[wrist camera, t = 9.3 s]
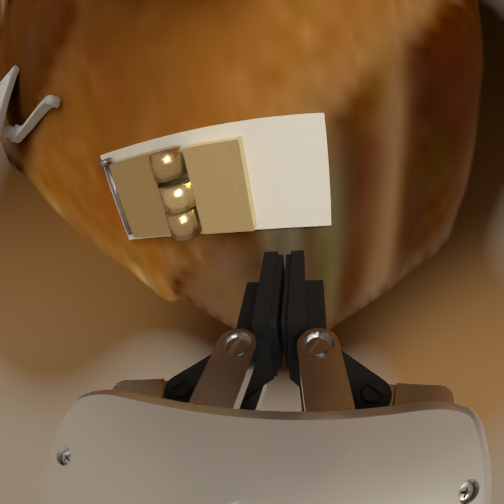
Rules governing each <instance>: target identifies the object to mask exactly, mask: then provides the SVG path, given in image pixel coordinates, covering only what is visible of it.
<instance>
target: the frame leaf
mask: <svg viewBox="0 0 504 504" xmlns="http://www.w3.org/2000/svg"><path fill="white" fill-rule="evenodd" d="M109 167H110V170H111V174H112V177H113V180H114V183H115V186H116V189H117V192H118V195H119V198H120V201H121V204H122V207H123V209H124V212H125V215H126V218H127V220H128V223H129V226H130V228H131V231H132V234H133V236H134V238H140V237H151V236H162V235H172V238H173V239H174V240H176V241H185V240H189V239H192V238H194V237H196V236H197V235H199V234H200V233H201V231H202V226H201V222H200V219H199V215H198V211H197V207H196V205H195V206H194V207H192V208H191V209H189V210H186V211H183V212H180V213H173V214H171V213H167V212H166V210H165V207H164V204H163V200H162V197H161V194H160V190H159V188H160V187H161V186H162V185H163V184H165V183H166V181H170V180H173V179H176V178H179V177H181V176H183V175H185V174H186V173H187V168H186V164H185V160H184V156H183V152H182V148H181V145H174V146H169V147H165V148H162V149H159V150H157V149H156V150H152V151H148V152H145V153H141V154H137V155H133V156H130V157H126V158H123V159H119V160H117V161H115V162H113V163H111V164H110V165H109Z"/></svg>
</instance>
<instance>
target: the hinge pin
mask: <svg viewBox="0 0 504 504" xmlns="http://www.w3.org/2000/svg"><path fill="white" fill-rule="evenodd" d="M111 163H112V160H111V157H109V158H106V159H103V160H101V161H99V166H100V167H103V166H104V167H105V170H106V174H107V177H108V180H109V183H110V186H111V189H112V192H113V195H114V198H115V201H116V203H117V206H118V209H119V212H120V215H121V217H122V220H123V223H124V225H125V228H126V230H127V233H128V235H131V234H132V231H131V228H130V226H129V223H128V220H127V218H126V215H125V212H124V209H123V207H122V204H121V201H120V198H119V195H118V192H117V189H116V186H115V183H114V180H113V177H112V174H111V170H110V167H109V165H110V164H111Z"/></svg>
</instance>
